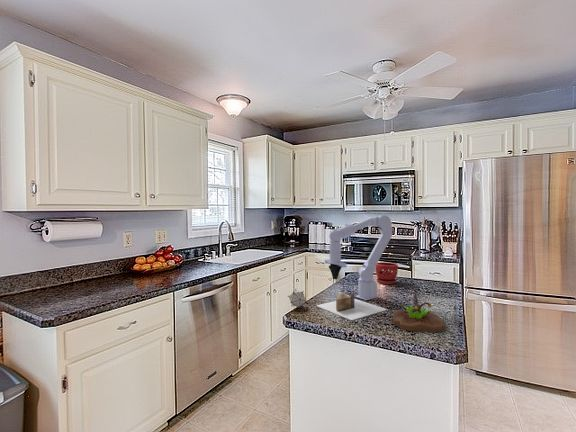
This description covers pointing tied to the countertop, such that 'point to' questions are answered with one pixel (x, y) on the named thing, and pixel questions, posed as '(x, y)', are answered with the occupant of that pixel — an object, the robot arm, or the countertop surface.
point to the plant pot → (386, 272)
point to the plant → (418, 319)
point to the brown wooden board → (343, 303)
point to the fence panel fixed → (341, 295)
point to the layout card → (353, 309)
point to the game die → (297, 298)
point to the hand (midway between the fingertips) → (335, 279)
